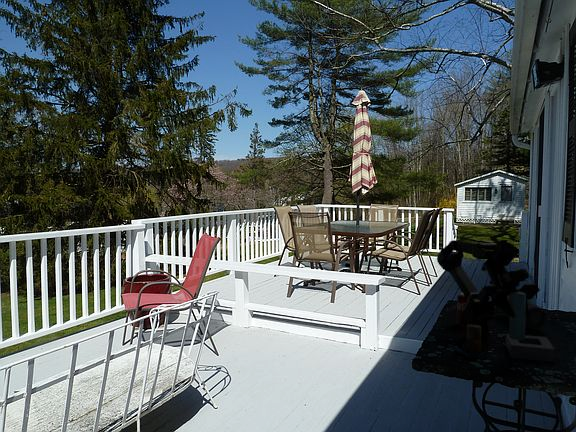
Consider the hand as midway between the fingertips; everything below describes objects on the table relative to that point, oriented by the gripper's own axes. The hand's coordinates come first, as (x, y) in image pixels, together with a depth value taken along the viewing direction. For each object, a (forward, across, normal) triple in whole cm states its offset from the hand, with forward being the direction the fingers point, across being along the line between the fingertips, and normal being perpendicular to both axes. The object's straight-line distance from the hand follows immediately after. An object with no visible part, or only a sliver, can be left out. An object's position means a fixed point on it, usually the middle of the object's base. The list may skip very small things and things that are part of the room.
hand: (520, 316), depth 138 cm
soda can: (-16, +4, +35) cm, 39 cm away
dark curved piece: (-14, +26, +34) cm, 45 cm away
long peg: (+4, 0, +6) cm, 7 cm away
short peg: (+2, -9, +17) cm, 19 cm away
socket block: (+7, +6, +12) cm, 16 cm away
